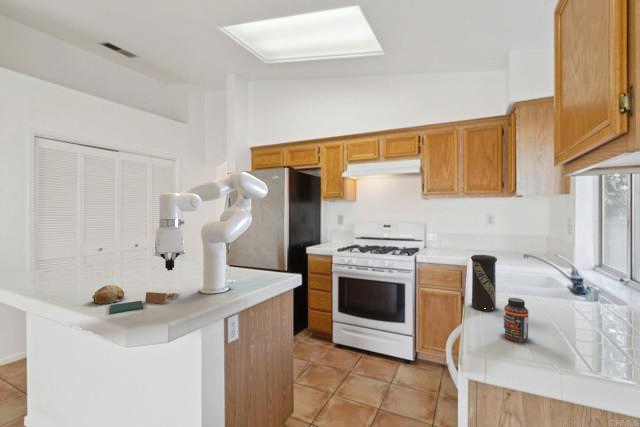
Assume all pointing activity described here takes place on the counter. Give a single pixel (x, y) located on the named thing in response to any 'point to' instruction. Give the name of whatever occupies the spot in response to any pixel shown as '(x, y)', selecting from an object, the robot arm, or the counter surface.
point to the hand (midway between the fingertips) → (169, 269)
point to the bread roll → (108, 294)
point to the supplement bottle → (516, 320)
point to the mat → (126, 307)
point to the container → (483, 282)
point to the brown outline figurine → (158, 297)
